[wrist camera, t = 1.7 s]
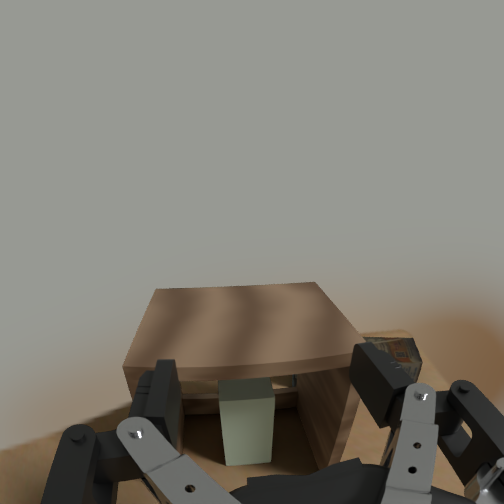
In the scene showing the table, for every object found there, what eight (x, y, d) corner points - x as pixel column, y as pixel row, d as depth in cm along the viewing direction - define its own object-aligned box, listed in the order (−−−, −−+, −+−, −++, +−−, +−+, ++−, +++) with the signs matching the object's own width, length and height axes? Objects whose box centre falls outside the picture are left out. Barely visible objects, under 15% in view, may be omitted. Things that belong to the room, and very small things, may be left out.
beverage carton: (297, 360, 48) (300, 326, 46) (406, 366, 43) (416, 333, 42) (290, 389, 41) (293, 354, 39) (414, 396, 36) (427, 361, 34)
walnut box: (169, 493, 22) (122, 366, 18) (176, 409, 36) (155, 288, 31) (333, 478, 24) (372, 349, 20) (302, 400, 38) (314, 281, 33)
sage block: (226, 465, 27) (218, 401, 24) (223, 435, 32) (217, 368, 29) (270, 462, 28) (275, 397, 25) (264, 432, 32) (266, 365, 29)
